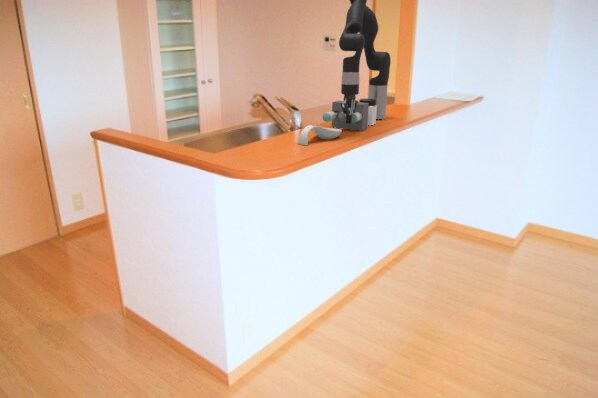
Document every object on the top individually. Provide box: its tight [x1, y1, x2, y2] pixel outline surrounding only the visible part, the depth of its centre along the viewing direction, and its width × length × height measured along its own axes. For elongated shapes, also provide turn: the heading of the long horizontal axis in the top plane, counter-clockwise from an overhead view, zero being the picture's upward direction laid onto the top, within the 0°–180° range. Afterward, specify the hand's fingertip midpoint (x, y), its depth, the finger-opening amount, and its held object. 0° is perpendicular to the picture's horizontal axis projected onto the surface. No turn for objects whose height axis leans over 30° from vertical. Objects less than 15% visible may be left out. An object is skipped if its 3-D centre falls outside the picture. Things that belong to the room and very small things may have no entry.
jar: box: [358, 98, 377, 126], centre depth 232 cm, size 9×8×12 cm
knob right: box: [352, 112, 362, 123], centre depth 218 cm, size 11×4×4 cm, turn 149°
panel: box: [331, 99, 369, 132], centre depth 223 cm, size 6×16×12 cm, turn 59°
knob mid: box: [338, 112, 346, 122], centre depth 221 cm, size 11×4×4 cm, turn 149°
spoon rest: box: [297, 124, 343, 146], centre depth 201 cm, size 24×12×7 cm, turn 142°
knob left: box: [322, 110, 339, 123], centre depth 220 cm, size 11×4×4 cm, turn 149°
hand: (348, 123), depth 211 cm, fingers closed
